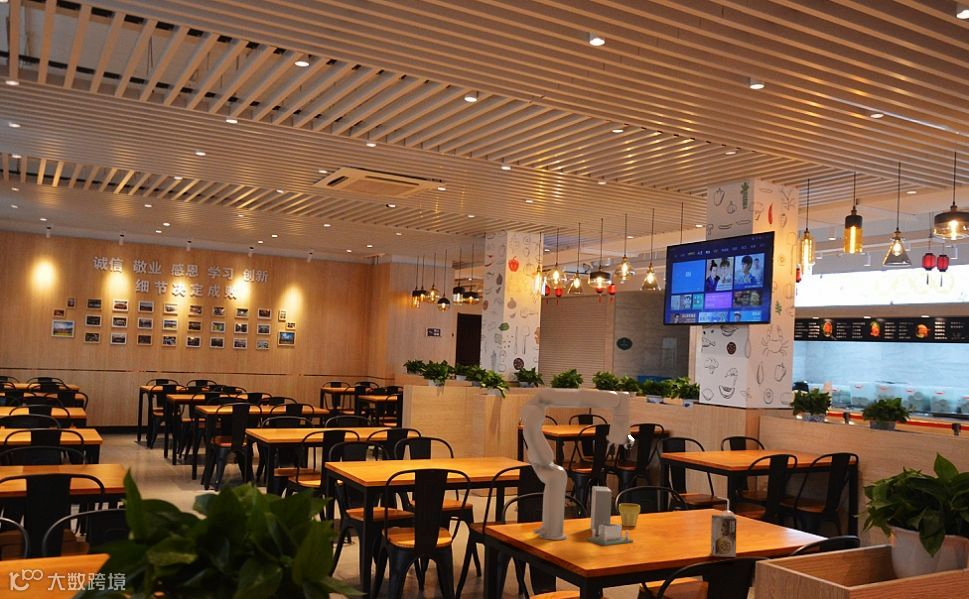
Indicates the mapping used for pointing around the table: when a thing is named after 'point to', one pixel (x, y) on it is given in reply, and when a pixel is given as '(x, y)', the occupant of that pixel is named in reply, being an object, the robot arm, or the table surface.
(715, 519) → the coffee box
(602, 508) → the hard drive box
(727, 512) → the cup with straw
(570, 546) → the table surface
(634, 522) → the plant pot
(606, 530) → the white open box
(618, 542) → the pin tray
